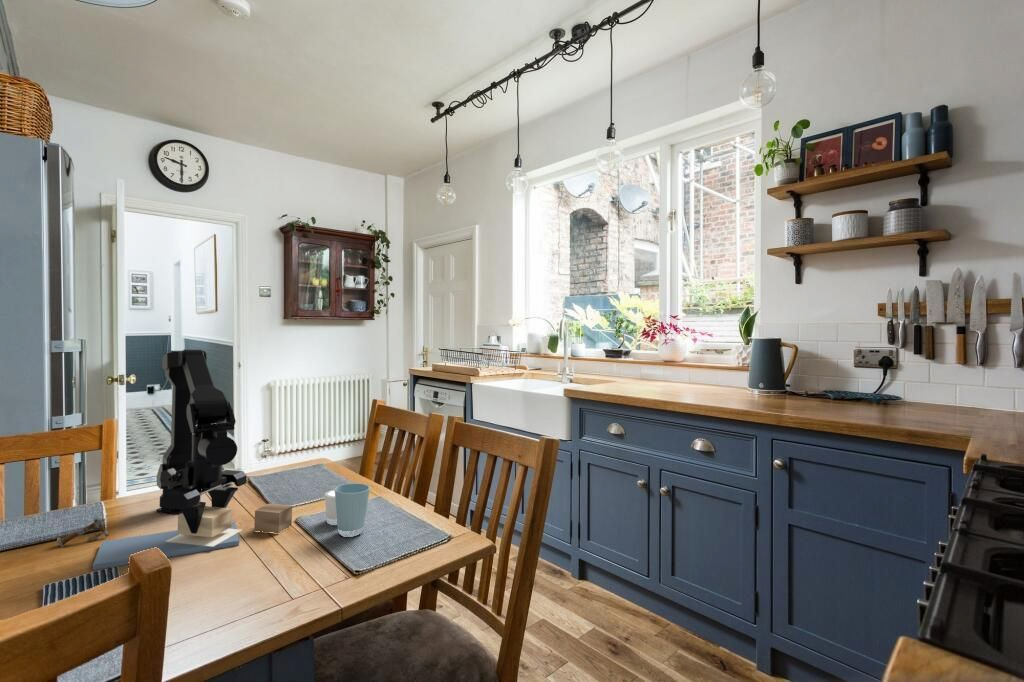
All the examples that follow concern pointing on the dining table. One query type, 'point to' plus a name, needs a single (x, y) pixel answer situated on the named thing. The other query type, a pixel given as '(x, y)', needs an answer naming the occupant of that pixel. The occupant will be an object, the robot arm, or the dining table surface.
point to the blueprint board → (161, 545)
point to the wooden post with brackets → (92, 526)
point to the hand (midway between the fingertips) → (205, 527)
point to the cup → (351, 505)
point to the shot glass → (330, 504)
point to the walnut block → (273, 518)
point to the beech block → (208, 522)
